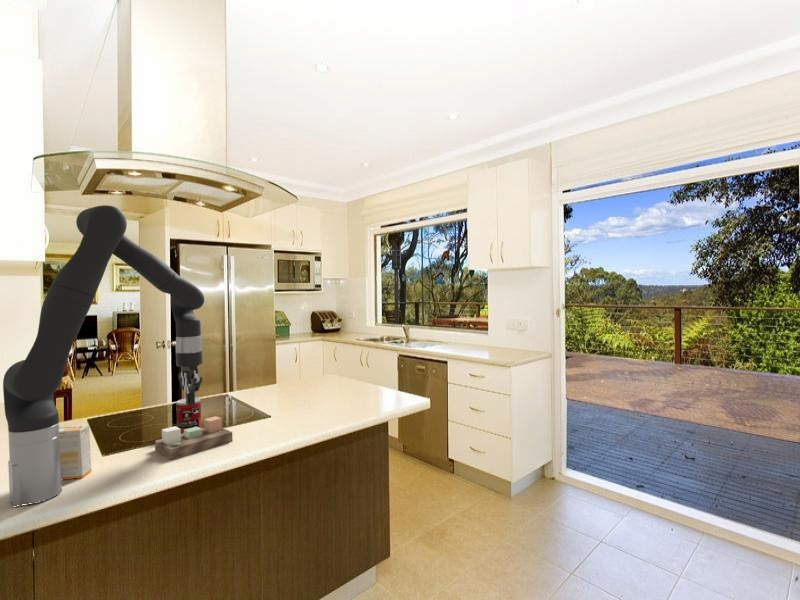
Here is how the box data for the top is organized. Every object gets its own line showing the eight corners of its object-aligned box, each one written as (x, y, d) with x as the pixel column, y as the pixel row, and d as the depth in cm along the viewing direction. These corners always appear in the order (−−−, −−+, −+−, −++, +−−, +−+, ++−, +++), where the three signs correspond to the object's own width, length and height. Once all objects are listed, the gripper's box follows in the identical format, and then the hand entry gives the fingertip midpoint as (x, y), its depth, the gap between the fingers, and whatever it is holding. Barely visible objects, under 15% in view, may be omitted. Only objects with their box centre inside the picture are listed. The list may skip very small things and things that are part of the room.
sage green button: (189, 444, 131) (189, 432, 131) (184, 442, 134) (183, 429, 134) (202, 441, 134) (202, 428, 134) (196, 438, 137) (196, 426, 137)
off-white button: (167, 445, 126) (166, 432, 126) (162, 442, 129) (161, 429, 129) (181, 441, 129) (180, 428, 129) (175, 438, 132) (175, 426, 132)
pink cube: (210, 433, 136) (209, 421, 136) (204, 431, 139) (204, 419, 139) (221, 430, 139) (221, 418, 139) (216, 427, 142) (215, 416, 142)
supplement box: (92, 471, 116) (90, 424, 115) (82, 478, 111) (80, 429, 111) (59, 473, 114) (57, 426, 114) (47, 481, 110) (45, 432, 109)
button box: (170, 459, 122) (170, 447, 122) (155, 450, 130) (154, 438, 130) (232, 441, 137) (232, 430, 137) (215, 433, 145) (215, 423, 145)
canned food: (174, 436, 143) (173, 404, 143) (180, 428, 150) (179, 398, 150) (199, 433, 145) (198, 402, 145) (203, 426, 153) (202, 396, 152)
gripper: (168, 350, 135) (169, 403, 135) (185, 353, 126) (187, 410, 127) (192, 347, 141) (193, 398, 141) (210, 350, 132) (211, 405, 132)
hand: (190, 404), depth 134 cm, fingers closed
